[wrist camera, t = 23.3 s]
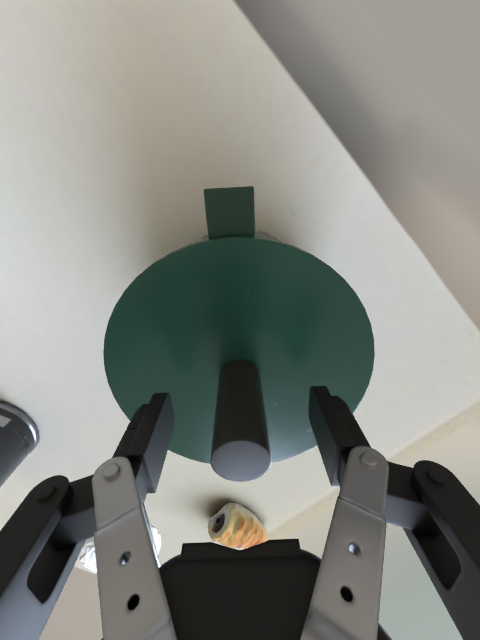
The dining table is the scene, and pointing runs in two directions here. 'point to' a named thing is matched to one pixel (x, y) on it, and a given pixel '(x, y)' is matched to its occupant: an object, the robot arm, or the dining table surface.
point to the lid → (238, 349)
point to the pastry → (236, 527)
